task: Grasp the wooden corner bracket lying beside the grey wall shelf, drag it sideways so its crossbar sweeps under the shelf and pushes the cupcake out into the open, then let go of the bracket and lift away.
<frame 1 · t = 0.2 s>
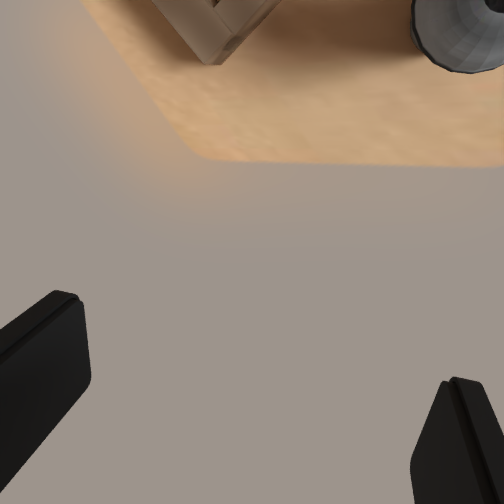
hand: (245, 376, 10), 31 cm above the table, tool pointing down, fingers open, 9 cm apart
beverage cup: (439, 23, 32), on the table
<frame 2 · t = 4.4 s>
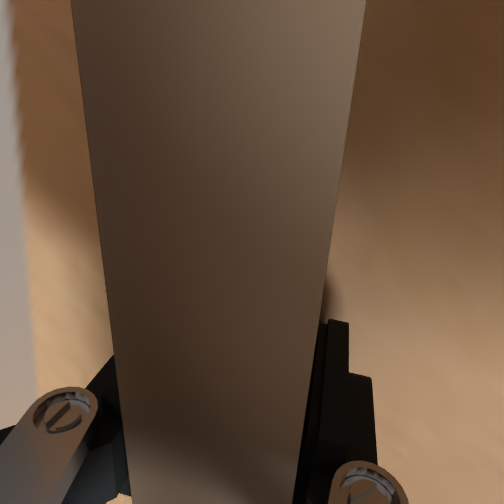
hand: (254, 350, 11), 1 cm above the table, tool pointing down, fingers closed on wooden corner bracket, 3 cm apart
wooden corner bracket: (260, 334, 12), on the table, touching gripper
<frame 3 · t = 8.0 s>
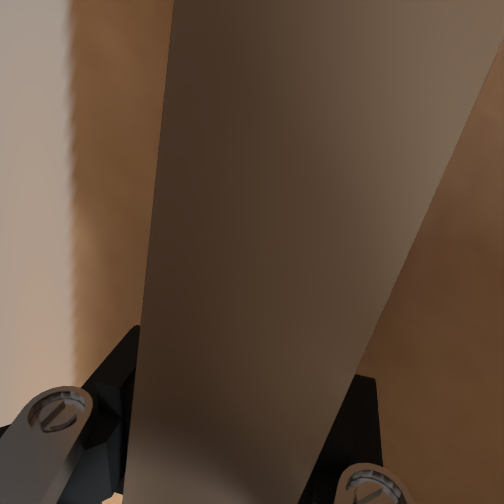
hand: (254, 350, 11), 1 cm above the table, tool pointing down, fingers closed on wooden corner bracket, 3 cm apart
wooden corner bracket: (258, 341, 12), point 1 cm above the table, touching cupcake, gripper
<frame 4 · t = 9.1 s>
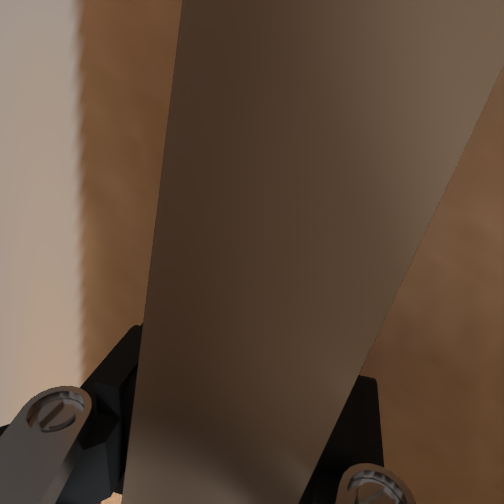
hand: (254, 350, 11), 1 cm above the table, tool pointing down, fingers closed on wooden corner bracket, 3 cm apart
wooden corner bracket: (258, 340, 12), point 1 cm above the table, touching cupcake, gripper
when the fingers open (1 cm above the table, at t = 10.1 s): wooden corner bracket stays where it is, on the table.
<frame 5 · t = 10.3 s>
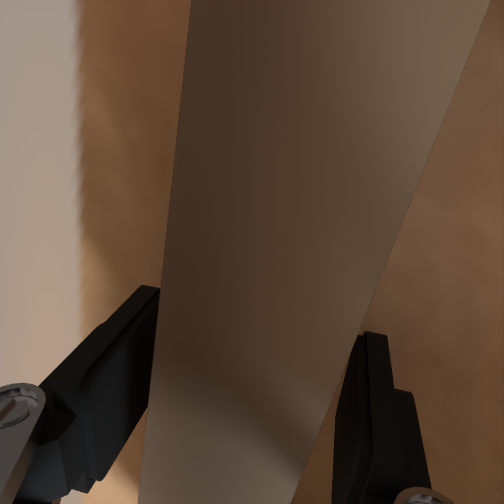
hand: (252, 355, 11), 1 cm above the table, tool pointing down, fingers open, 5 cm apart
wooden corner bracket: (263, 329, 12), on the table
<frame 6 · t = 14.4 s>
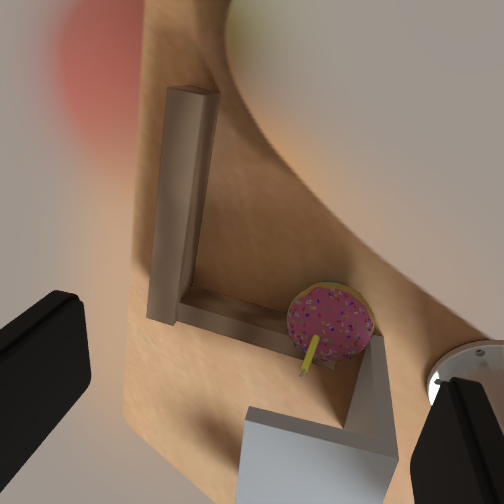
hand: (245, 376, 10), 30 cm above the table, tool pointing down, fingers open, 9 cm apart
shelf: (317, 376, 48), on the table
wooden corner bracket: (189, 207, 43), on the table
cupcake: (331, 298, 43), on the table
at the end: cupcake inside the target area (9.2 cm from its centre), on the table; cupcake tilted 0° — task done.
